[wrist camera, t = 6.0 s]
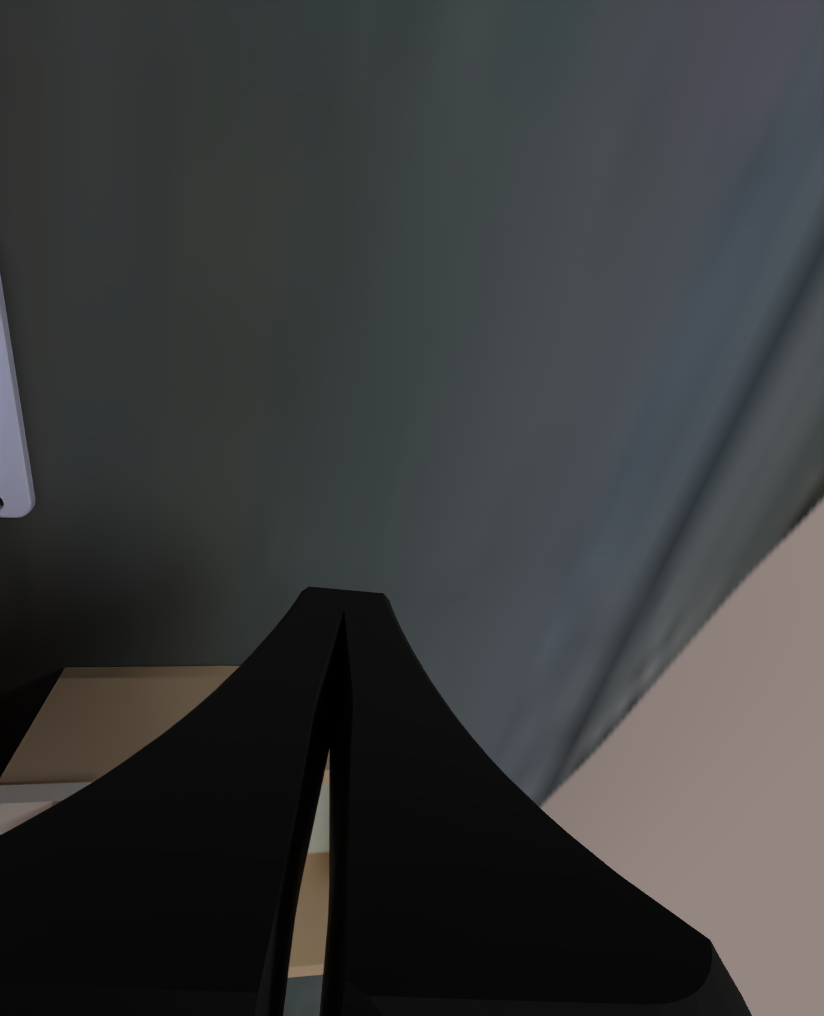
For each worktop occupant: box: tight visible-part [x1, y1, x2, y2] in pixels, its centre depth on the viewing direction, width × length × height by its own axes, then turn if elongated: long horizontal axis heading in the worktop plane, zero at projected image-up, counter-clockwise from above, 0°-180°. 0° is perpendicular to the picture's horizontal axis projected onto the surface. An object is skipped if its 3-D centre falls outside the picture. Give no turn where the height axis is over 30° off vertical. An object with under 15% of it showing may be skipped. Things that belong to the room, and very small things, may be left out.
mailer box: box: [0, 666, 330, 978], centre depth 22 cm, size 12×10×5 cm
